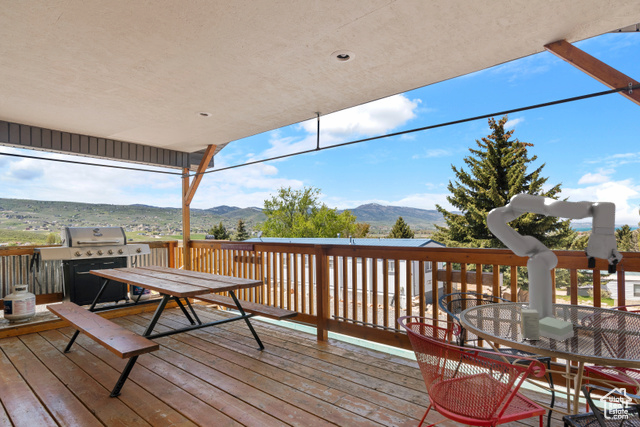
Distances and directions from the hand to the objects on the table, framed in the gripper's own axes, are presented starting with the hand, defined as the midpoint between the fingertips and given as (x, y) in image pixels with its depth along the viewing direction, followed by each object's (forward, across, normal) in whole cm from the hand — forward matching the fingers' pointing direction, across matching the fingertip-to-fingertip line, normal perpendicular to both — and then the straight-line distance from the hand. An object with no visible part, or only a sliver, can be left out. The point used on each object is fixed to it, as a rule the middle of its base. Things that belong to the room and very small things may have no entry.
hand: (601, 270), depth 153 cm
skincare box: (+28, +1, -33) cm, 43 cm away
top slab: (+25, -1, -21) cm, 32 cm away
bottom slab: (+28, 0, -21) cm, 35 cm away
